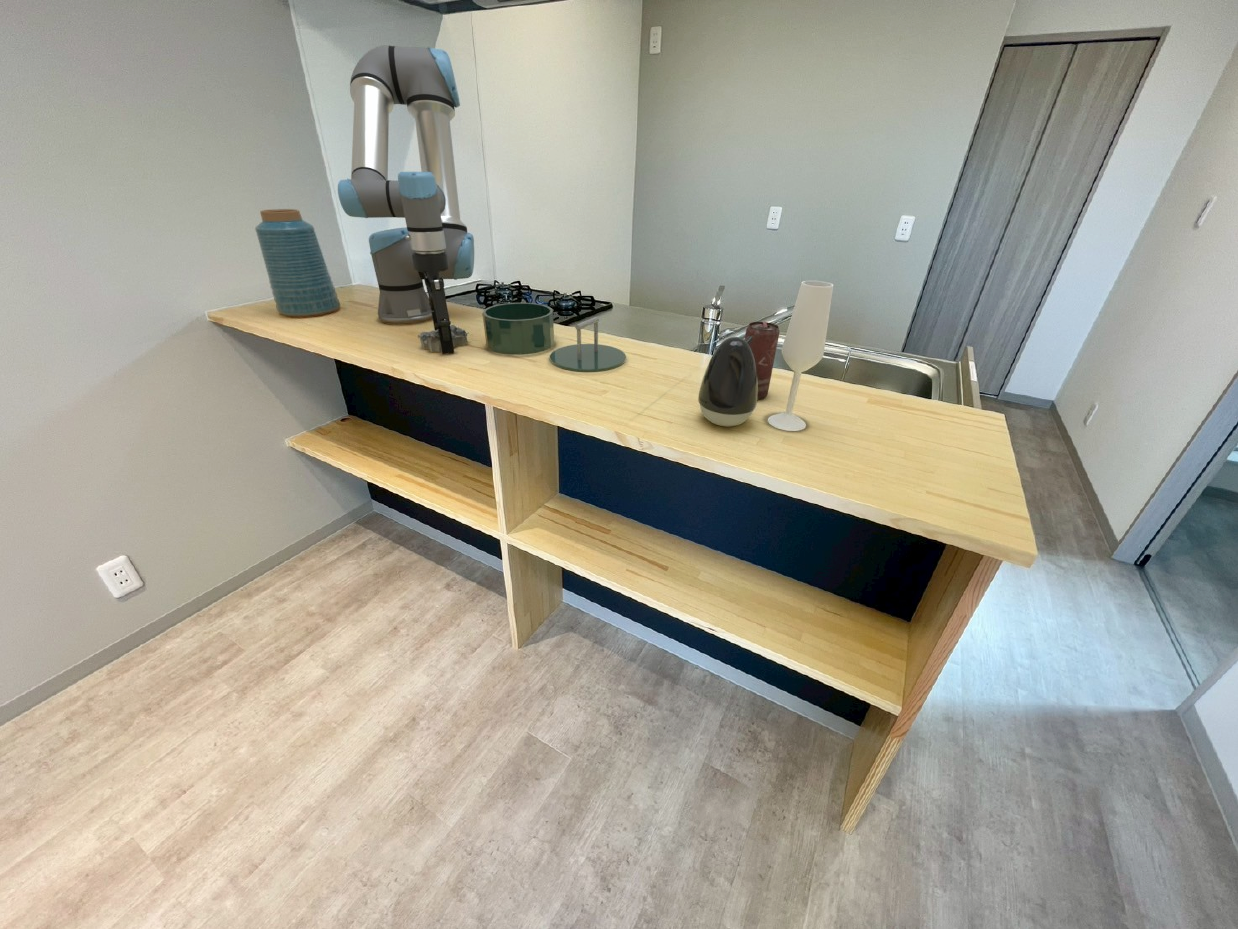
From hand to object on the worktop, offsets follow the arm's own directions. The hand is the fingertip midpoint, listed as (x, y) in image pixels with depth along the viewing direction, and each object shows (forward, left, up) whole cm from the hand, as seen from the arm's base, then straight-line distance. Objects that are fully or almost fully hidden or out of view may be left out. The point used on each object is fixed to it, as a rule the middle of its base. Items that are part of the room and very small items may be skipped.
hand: (444, 344), depth 121 cm
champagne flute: (+66, +51, 0) cm, 83 cm away
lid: (+23, +29, 0) cm, 37 cm away
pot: (+6, +18, 0) cm, 19 cm away
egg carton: (0, 0, 0) cm, 0 cm away
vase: (-46, -33, 0) cm, 57 cm away
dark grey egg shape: (+61, +41, 0) cm, 73 cm away
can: (+53, +53, 0) cm, 75 cm away
